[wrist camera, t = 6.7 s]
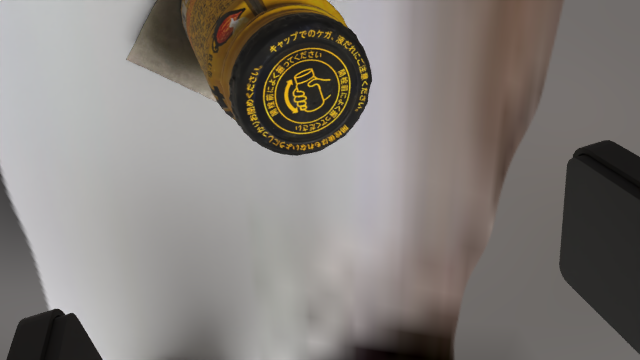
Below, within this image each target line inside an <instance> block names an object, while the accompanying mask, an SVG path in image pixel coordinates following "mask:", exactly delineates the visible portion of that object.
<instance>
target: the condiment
mask: <svg viewBox="0 0 640 360" xmlns="http://www.w3.org/2000/svg"><path fill="white" fill-rule="evenodd" d="M126 60H128V61H130V62H133V63H135V64H137V65H139V66H142V67H144V68H147V69H148V70H150V71H153V72H155V73H157V74H159V75H161V76H163V77H165V78H168V79H170V80H172V81H174V82H176V83H179V84H181V85H183V86H185V87H187V88H189V89H191V90H193V91H195V92H199V93H200V94H202V95H204V96H205V97H207V98H209V99H212V100H213V101H215V102H218V103H219V105H220V106H221V108H222V109H223V110H224V111H225V112H226V114H228V115H229V116H230V117H231V118H233V119H234V120H236V122H237V123H238V125H239V126H241V128H242V129H243V131H244V133H246V134H247V135H248V136H249V137H250V138H251V139H252V140H253V141H255V142H257V143H258V144H259V145H261V146H262V147H265V148H267V149H269V150H271V151H273V152H277V153H280V154H287V155H296V156H297V155H302V154H308V153H313V152H317V151H321V150H323V149H324V148H326V147H327V146H329V145H331V144H333V143H334V142H336V141H337V140H339V139H340V138H342V137H344V136H345V135H346V134H347V133H348V132H349V130H350V129H351V128H352V127H353V126H354V124H355V123H356V122H357V121H358V119H359V117H360V115H361V114H362V112H363V111H364V109H365V106H366V105H367V102H368V94H369V89H370V85H371V82H372V76H371V69H370V65H369V61H368V58H367V56H366V53H365V51H364V48H363V46H362V45H361V44H360V43H359V41H358V39H357V36H356V35H355V34H354V33H353V31H352V30H351V29H349V28H348V27H347V25H346V23H345V21H344V19H343V17H342V16H341V15H340V13H339V12H338V11H337V10H336V9H335V8H334V6H333V5H331V4H330V3H329V2H328V1H327V0H157V1H156V3H155V5H154V7H153V8H152V10H151V12H150V14H149V16H148V18H147V20H146V22H145V24H144V25H143V27H142V30H141V32H140V34H139V36H138V38H137V40H136V42H135V44H134V46H133V48H132V49H131V51H130V53H129V55H128V57H127V59H126Z"/></svg>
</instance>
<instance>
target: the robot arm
mask: <svg viewBox="0 0 640 360" xmlns="http://www.w3.org/2000/svg"><path fill="white" fill-rule="evenodd" d="M565 186H566V187H565V198H564V212H563V224H562V236H561V250H560V262H559V265H560V271H561V273H562V276H563V277H564V279H565V280H566V281H567V283H568V284H569V285H570V286H571V287H572V288H573V289H574V290H575V291H576V292H577V293H578V294H579V295H580V296H581V297H582V298H583V299H584V300H585V301H586V302H587V303H588V304H589V305H590V306H591V307H592V308H594V310H595V311H596V312H598V314H600V316H602V318H603V319H605V320H606V321H607V322H608V323H609V324H610V325H611V326H612V327H613V328H614V329H615V330H616V331H617V332H618V333H619V334H620V335H621V336H622V337H623V338H624V339H625V340H626V341H627V342H628V343H629V344H630V345H631V346H632V347H633V348H634V349H635V350H636V351H637V352H638V353H639V354H640V157H639V156H637V155H635V154H634V153H632V152H630V151H629V150H627V149H625V148H623V147H622V146H620V145H618V144H616V143H615V142H612V141H610V140H606V141H601V142H598V143H595V144H591V145H588V146H585V147H582V148H579V149H577V150H576V151H575V153H574V154H573V158H572V159H570V160H569V162H568V164H567V173H566V185H565ZM7 360H102V358H101V356H100V354H99V353H98V351H97V349H96V348H95V346H94V344H93V343H92V341H91V339H90V338H89V336H88V334H87V333H86V331H85V329H84V328H83V326H82V324H81V323H80V321H79V319H78V318H77V316H76V315H75V314H73V313H70V314H67V315H65V314H64V313H63V311H61V310H60V309H54V310H50V311H47V312H44V313H40V314H38V315H34V316H31V317H28V318H24V319H22V320H21V321H20V322H19V324H18V326H17V329H16V332H15V335H14V338H13V341H12V344H11V347H10V351H9V354H8V357H7Z"/></svg>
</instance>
